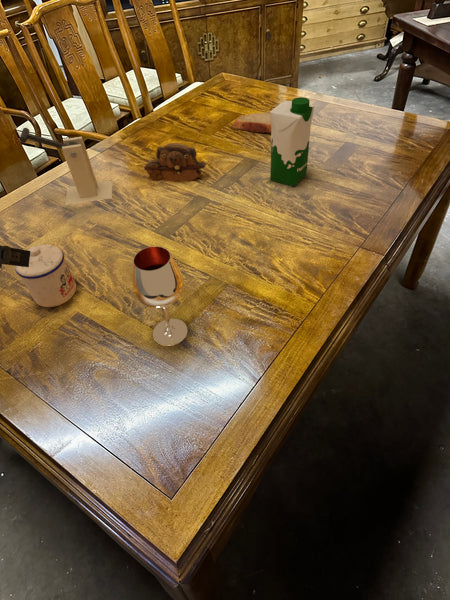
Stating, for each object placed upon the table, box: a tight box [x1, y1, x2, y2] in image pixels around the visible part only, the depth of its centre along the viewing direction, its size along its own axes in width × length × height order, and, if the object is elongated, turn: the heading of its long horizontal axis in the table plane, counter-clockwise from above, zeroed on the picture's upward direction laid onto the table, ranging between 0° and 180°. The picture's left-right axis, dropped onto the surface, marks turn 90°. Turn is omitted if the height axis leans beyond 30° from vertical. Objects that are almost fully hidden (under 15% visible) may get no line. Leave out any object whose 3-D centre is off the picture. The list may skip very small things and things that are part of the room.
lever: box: [19, 127, 78, 150], centre depth 99 cm, size 13×5×2 cm, turn 101°
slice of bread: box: [232, 111, 271, 134], centre depth 129 cm, size 18×18×4 cm
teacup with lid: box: [14, 244, 77, 308], centre depth 82 cm, size 12×9×12 cm
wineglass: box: [131, 245, 188, 347], centre depth 70 cm, size 8×8×18 cm
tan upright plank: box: [61, 136, 113, 206], centre depth 105 cm, size 12×9×15 cm
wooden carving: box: [143, 142, 208, 182], centre depth 109 cm, size 16×5×10 cm, turn 88°
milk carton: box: [269, 96, 315, 188], centre depth 103 cm, size 9×9×20 cm
